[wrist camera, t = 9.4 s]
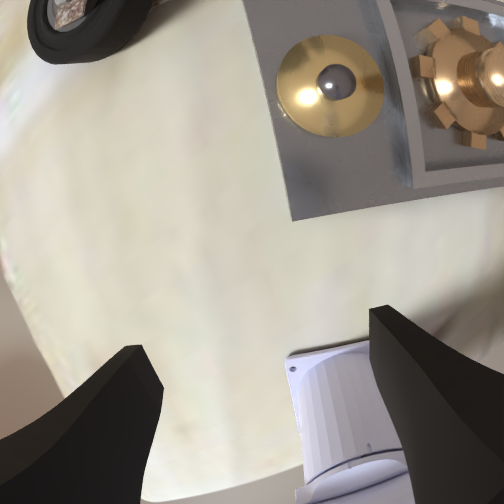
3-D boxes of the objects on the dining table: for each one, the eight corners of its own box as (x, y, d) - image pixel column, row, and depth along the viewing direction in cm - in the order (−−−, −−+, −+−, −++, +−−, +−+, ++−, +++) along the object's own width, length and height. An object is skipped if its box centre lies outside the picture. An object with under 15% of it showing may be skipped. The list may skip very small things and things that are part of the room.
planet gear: (511, 155, 14) (558, 167, 10) (413, 138, 14) (459, 145, 10) (505, 40, 11) (549, 32, 7) (404, 5, 11) (442, -23, 7)
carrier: (526, 178, 15) (558, 190, 12) (290, 216, 17) (297, 237, 14) (496, 6, 11) (526, -4, 7) (240, -5, 13) (236, -33, 9)
